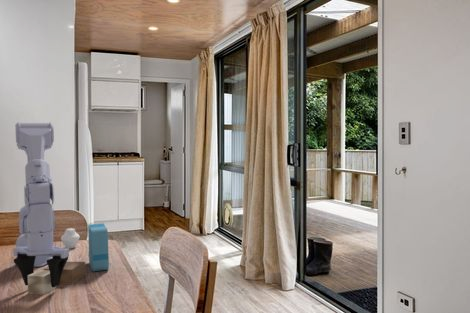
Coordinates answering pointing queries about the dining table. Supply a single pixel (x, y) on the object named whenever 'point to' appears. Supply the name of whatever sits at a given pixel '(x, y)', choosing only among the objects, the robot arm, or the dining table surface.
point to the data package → (98, 247)
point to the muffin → (70, 238)
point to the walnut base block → (71, 272)
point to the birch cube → (40, 282)
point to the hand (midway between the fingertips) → (42, 284)
